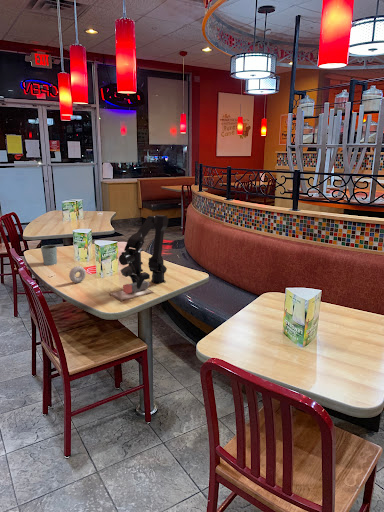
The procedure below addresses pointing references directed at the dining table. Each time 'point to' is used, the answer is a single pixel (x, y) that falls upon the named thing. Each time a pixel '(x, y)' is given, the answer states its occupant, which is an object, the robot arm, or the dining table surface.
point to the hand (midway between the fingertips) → (136, 287)
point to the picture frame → (130, 294)
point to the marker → (135, 287)
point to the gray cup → (49, 254)
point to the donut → (81, 276)
